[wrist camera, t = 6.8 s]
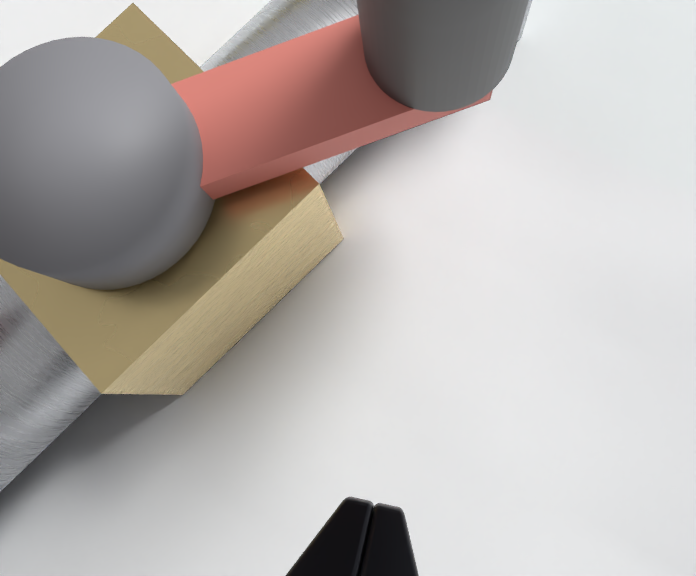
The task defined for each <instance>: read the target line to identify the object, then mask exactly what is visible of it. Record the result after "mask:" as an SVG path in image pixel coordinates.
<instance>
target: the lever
mask: <svg viewBox="0 0 696 576" xmlns="http://www.w3.org/2000/svg"><path fill="white" fill-rule="evenodd" d="M356 1H357V8H358V15H356V16H353V17H351V18H348V19H345V20H343V21H340V22H337V23H334V24H332V25H329V26H326V27H324V28H321V29H318V30H316V31H313V32H310V33H307V34H305V35H302V36H299V37H297V38H294V39H291V40H289V41H286V42H283V43H280V44H278V45H275V46H272V47H270V48H267V49H264V50H262V51H259V52H256V53H253V54H251V55H248V56H245V57H243V58H240V59H237V60H235V61H232V62H229V63H226V64H224V65H221V66H218V67H216V68H213V69H210V70H208V71H205V72H202V73H200V74H197V75H194V76H191V77H189V78H186V79H183V80H181V81H178V82H175V83H173V84H170V82H169V81H168V80H167V78H166V77H165V76H164V75H163V73H162V72H161V71H160V70H159V69H158V68H157V67H156V66H155V65H154V64H153V63H152V62H151V61H150V60H149V59H147V58H146V57H144V56H143V55H142V54H140V53H139V52H137V51H135V50H133V49H131V48H129V47H127V46H125V45H122V44H120V43H117V42H114V41H110V40H105V39H100V38H91V37H73V38H64V39H59V40H53V41H50V42H47V43H44V44H40V45H38V46H35V47H33V48H31V49H29V50H26V51H24V52H23V53H21V54H19V55H17V56H16V57H14V58H12V59H11V60H9V61H8V62H7V63H5V64H4V65H3V66H1V67H0V258H1V259H2V260H4V261H6V262H9V263H11V264H13V265H16V266H18V267H21V268H24V269H27V270H30V271H33V272H36V273H39V274H42V275H45V276H48V277H51V278H54V279H57V280H60V281H63V282H66V283H69V284H72V285H76V286H80V287H84V288H89V289H97V290H113V289H120V288H127V287H130V286H134V285H137V284H141V283H143V282H145V281H148V280H150V279H152V278H154V277H156V276H158V275H160V274H161V273H163V272H165V271H166V270H168V269H169V268H170V267H172V266H173V265H174V264H176V263H177V262H178V261H179V260H180V259H181V258H182V257H183V256H184V255H185V254H186V253H187V252H188V251H189V250H190V249H191V247H192V246H193V245H194V244H195V242H196V241H197V240H198V238H199V237H200V235H201V233H202V232H203V230H204V228H205V226H206V224H207V222H208V220H209V217H210V215H211V212H212V209H213V206H214V202H215V199H217V198H220V197H222V196H225V195H228V194H231V193H234V192H236V191H239V190H242V189H245V188H247V187H250V186H253V185H256V184H258V183H261V182H264V181H267V180H269V179H272V178H275V177H278V176H281V175H283V174H286V173H289V172H292V171H294V170H297V169H300V168H303V167H305V166H308V165H311V164H314V163H317V162H319V161H322V160H325V159H328V158H330V157H333V156H336V155H339V154H341V153H344V152H347V151H350V150H352V149H355V148H358V147H361V146H364V145H366V144H369V143H372V142H375V141H377V140H380V139H383V138H386V137H388V136H391V135H394V134H397V133H400V132H402V131H405V130H408V129H411V128H413V127H416V126H419V125H422V124H424V123H427V122H430V121H433V120H436V119H438V118H441V117H444V116H447V115H449V114H452V113H455V112H458V111H460V110H463V109H466V108H469V107H471V106H474V105H477V104H480V103H483V102H485V101H488V100H490V98H491V94H492V90H493V89H494V88H495V87H496V86H497V85H498V83H499V82H500V81H501V80H502V78H503V77H504V75H505V73H506V72H507V70H508V68H509V65H510V63H511V60H512V57H513V53H514V50H515V47H516V43H517V40H518V36H519V33H520V29H521V26H522V22H523V19H524V15H525V12H526V8H527V5H528V1H529V0H356Z"/></svg>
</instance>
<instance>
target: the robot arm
mask: <svg viewBox="0 0 696 576" xmlns="http://www.w3.org/2000/svg"><path fill="white" fill-rule="evenodd" d="M286 576H419V575H418V571H417V567H416V562H415V558H414V554H413V549H412V545H411V541H410V536H409V532H408V528H407V523H406V519H405V515H404V512H403V510H402V509H401V508H399V507H395V506H391V505H386V504H382V503H378V504H376V505H375V506H374V505H373V503H372V502H371V501H368V500H363V499H359V498H354V497H347V498H346V499H344V500H343V501H342V503H341V504H340V505H339V506H338V508H337V509H336V510H335V512H334V513H333V514H332V516H331V517H330V518H329V520H328V521H327V522H326V523H325V525H324V526H323V527H322V529H321V530H320V531H319V533H318V534H317V535H316V537H315V538H314V539H313V540H312V542H311V543H310V544H309V546H308V547H307V548H306V550H305V551H304V552H303V554H302V555H301V556H300V557H299V559H298V560H297V561H296V563H295V564H294V565H293V567H292V568H291V569H290V571H289V572H288V573H287V574H286Z"/></svg>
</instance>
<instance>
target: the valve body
mask: <svg viewBox="0 0 696 576" xmlns="http://www.w3.org/2000/svg"><path fill="white" fill-rule="evenodd" d="M531 2H532V0H529V1H528V5H527V8H526V12H525V15H524V19H523V22H522V26H521V29H520V33H519V36H518V40H519V39H520V38H521V36H522V33H523V29H524V26H525V23H526V19H527V16H528V13H529V9H530V6H531ZM356 15H358V8H357V1H356V0H271V1H270V2H269V3H268V4H267V5H266V6H265V7H264V8H262V9H261V10H260V11H259V12H258V13H257V14H256V15H255V16H254V17H253V18H252V19H251V20H250V21H249V22H248V23H246V24H245V25H244V26H243V27H242V28H241V29H240V30H239V31H238V32H237V33H236V34H235V35H234V36H233V37H232V38H231V39H229V40H228V41H227V42H226V43H225V44H224V45H223V46H222V47H221V48H220V49H219V50H218V51H217V52H216V53H215V54H213V55H212V56H211V57H210V58H209V59H208V60H207V61H206V62H205V63H204V64H203V65H202V66H201V67H199V66H198V65H197V64H196V63H194V62H193V61H192V60H191V59H190V58H189V57H188V56H187V55H186V54H185V53H184V52H183V51H182V50H181V49H180V48H179V47H178V46H177V45H176V44H175V43H174V42H173V41H172V40H171V39H170V38H169V37H168V36H167V35H166V34H165V33H164V32H163V31H162V30H161V29H159V28H158V27H157V26H156V25H155V24H154V23H153V22H152V21H151V20H150V19H149V18H148V17H147V16H146V15H145V14H144V13H143V12H142V11H141V10H140V9H139V8H138V7H137V6H136V5H135V4H134V3H132V4H131V5H130V6H129V7H128V8H127V9H126V10H125V11H123V12H122V13H121V14H120V15H119V16H118V17H117V18H116V19H115V20H114V21H113V22H112V23H111V24H109V25H108V26H107V27H106V28H105V29H104V30H103V31H102V32H101V33H100V34H99V35H98V36H96V37H95V38H100V39H105V40H110V41H114V42H117V43H120V44H122V45H125V46H127V47H129V48H131V49H133V50H135V51H137V52H139V53H140V54H142V55H143V56H144V57H146V58H147V59H149V60H150V61H151V62H152V63H153V64H154V65H155V66H156V67H157V68H158V69H159V70H160V71H161V72H162V73H163V75H164V76H165V77H166V78H167V80H168V81H169V82H170V84H173V83H175V82H178V81H181V80H183V79H186V78H189V77H191V76H194V75H197V74H200V73H202V72H205V71H208V70H210V69H213V68H216V67H218V66H221V65H224V64H226V63H229V62H232V61H235V60H237V59H240V58H243V57H245V56H248V55H251V54H253V53H256V52H259V51H262V50H264V49H267V48H270V47H272V46H275V45H278V44H280V43H283V42H286V41H289V40H291V39H294V38H297V37H299V36H302V35H305V34H307V33H310V32H313V31H316V30H318V29H321V28H324V27H326V26H329V25H332V24H334V23H337V22H340V21H343V20H345V19H348V18H351V17H353V16H356ZM518 40H517V41H518ZM356 149H357V148H355V149H352V150H350V151H347V152H344V153H341V154H339V155H336V156H333V157H330V158H328V159H325V160H322V161H319V162H317V163H314V164H311V165H308V166H305V167H303V168H300V169H297V170H294V171H292V172H289V173H286V174H283V175H281V176H278V177H275V178H272V179H269V180H267V181H264V182H261V183H258V184H256V185H253V186H250V187H247V188H245V189H242V190H239V191H236V192H234V193H231V194H228V195H225V196H222V197H220V198H217V199H215V202H214V206H213V209H212V212H211V215H210V217H209V220H208V222H207V224H206V226H205V228H204V230H203V232H202V233H201V235H200V237H199V238H198V240H197V241H196V242H195V244H194V245H193V246H192V247H191V249H190V250H189V251H188V252H187V253H186V254H185V255H184V256H183V257H182V258H181V259H180V260H179V261H178V262H177V263H176V264H174V265H173V266H172V267H170V268H169V269H168V270H166V271H165V272H163V273H161V274H160V275H158V276H156V277H154V278H152V279H150V280H148V281H145V282H143V283H141V284H137V285H134V286H130V287H127V288H120V289H113V290H97V289H89V288H84V287H80V286H76V285H72V284H69V283H66V282H63V281H60V280H57V279H54V278H51V277H48V276H45V275H42V274H39V273H36V272H33V271H30V270H27V269H24V268H21V267H18V266H16V265H13V264H11V263H9V262H6V261H4V260H2V259H1V258H0V492H1V491H2V490H3V489H4V488H5V487H6V486H7V485H8V484H9V483H10V482H11V481H12V480H13V479H14V478H15V477H16V476H17V475H18V474H19V473H20V472H21V471H23V470H24V469H25V468H26V467H27V466H28V465H29V464H30V463H31V462H32V461H33V460H34V459H35V458H36V457H37V456H38V455H39V454H40V453H41V452H42V451H43V450H44V449H45V448H46V447H47V446H48V445H50V444H51V443H52V442H53V441H54V440H55V439H56V438H57V437H58V436H59V435H60V434H61V433H62V432H63V431H64V430H65V429H66V428H67V427H68V426H69V425H70V424H71V423H72V422H73V421H74V420H75V419H77V418H78V417H79V416H80V415H81V414H82V413H83V412H84V411H85V410H86V409H87V408H88V407H89V406H90V405H91V404H92V403H93V402H94V401H95V400H96V399H97V398H98V397H99V396H100V395H101V394H162V395H183V394H184V393H185V392H186V391H187V390H188V389H190V388H191V387H192V386H193V385H194V384H195V383H196V382H197V381H198V380H199V379H200V378H201V377H202V376H203V375H204V374H205V373H206V372H207V371H208V370H209V369H210V368H211V367H212V366H213V365H214V364H215V363H216V362H217V361H218V360H219V359H220V358H221V357H222V356H223V355H225V354H226V353H227V352H228V351H229V350H230V349H231V348H232V347H233V346H234V345H235V344H236V343H237V342H238V341H239V340H240V339H241V338H242V337H243V336H244V335H245V334H246V333H247V332H248V331H249V330H250V329H251V328H252V327H253V326H254V325H255V324H256V323H257V322H258V321H260V320H261V319H262V318H263V317H264V316H265V315H266V314H267V313H268V312H269V311H270V310H271V309H272V308H273V307H274V306H275V305H276V304H277V303H278V302H279V301H280V300H281V299H282V298H283V297H284V296H285V295H286V294H287V293H288V292H289V291H290V290H291V289H292V288H293V287H295V286H296V285H297V284H298V283H299V282H300V281H301V280H302V279H303V278H304V277H305V276H306V275H307V274H308V273H309V272H310V271H311V270H312V269H313V268H314V267H315V266H316V265H317V264H318V263H319V262H320V261H321V260H322V259H323V258H324V257H325V256H326V255H327V254H329V253H330V252H331V251H332V250H333V249H334V248H335V247H336V246H337V245H338V244H339V243H340V242H341V241H342V240H343V239H344V238H343V236H342V234H341V232H340V229H339V227H338V225H337V223H336V220H335V218H334V216H333V214H332V211H331V209H330V207H329V205H328V202H327V200H326V198H325V196H324V193H323V191H322V189H321V187H320V183H322V182H323V181H324V180H325V179H326V178H327V177H328V176H329V175H330V174H331V173H332V172H333V171H334V170H335V169H336V168H337V167H338V166H339V165H340V164H341V163H342V162H343V161H344V160H345V159H346V158H347V157H349V156H350V155H351V154H352V153H353V152H354V151H355V150H356Z"/></svg>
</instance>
